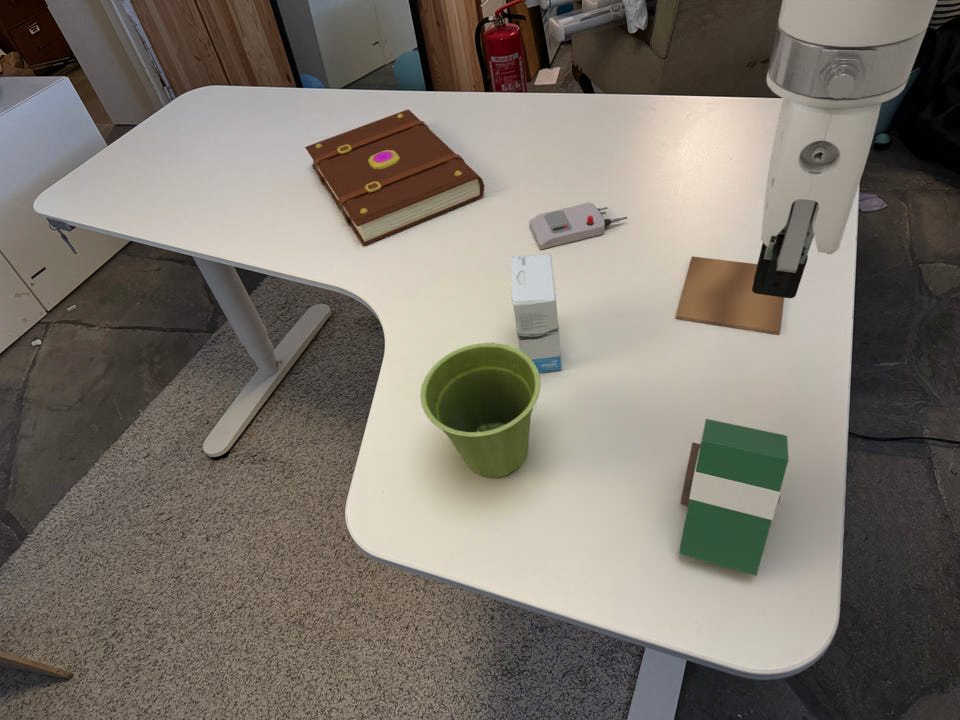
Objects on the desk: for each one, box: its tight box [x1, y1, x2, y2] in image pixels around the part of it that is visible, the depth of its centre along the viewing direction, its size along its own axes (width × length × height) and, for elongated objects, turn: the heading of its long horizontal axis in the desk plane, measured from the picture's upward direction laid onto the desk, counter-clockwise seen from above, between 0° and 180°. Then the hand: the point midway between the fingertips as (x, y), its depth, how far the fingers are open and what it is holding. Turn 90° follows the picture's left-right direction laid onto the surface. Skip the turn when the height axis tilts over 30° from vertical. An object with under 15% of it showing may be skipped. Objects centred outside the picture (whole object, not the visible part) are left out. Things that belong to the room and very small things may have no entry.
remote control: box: [524, 202, 628, 250], centre depth 91 cm, size 7×16×3 cm, turn 101°
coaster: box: [675, 256, 785, 336], centre depth 77 cm, size 12×12×1 cm
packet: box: [678, 418, 789, 577], centre depth 52 cm, size 9×7×12 cm
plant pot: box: [420, 342, 541, 479], centre depth 63 cm, size 12×12×11 cm
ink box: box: [510, 252, 562, 374], centre depth 72 cm, size 8×5×12 cm, turn 179°
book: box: [304, 109, 485, 247], centre depth 108 cm, size 23×32×5 cm
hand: (773, 289), depth 49 cm, fingers closed
